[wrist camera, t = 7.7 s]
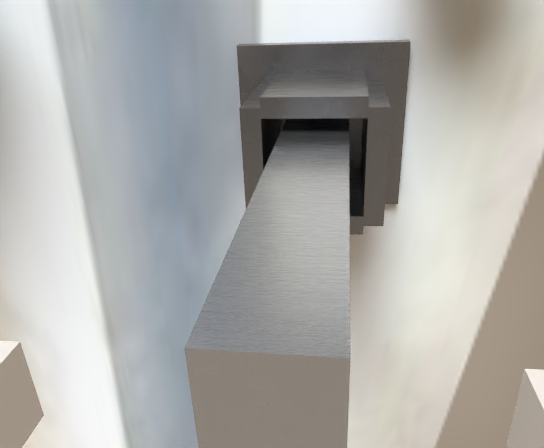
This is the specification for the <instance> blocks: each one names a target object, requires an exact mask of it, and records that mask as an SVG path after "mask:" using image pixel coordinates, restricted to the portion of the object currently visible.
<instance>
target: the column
mask: <svg viewBox="0 0 544 448" xmlns="http://www.w3.org/2000/svg"><path fill="white" fill-rule="evenodd" d="M185 354H186V361H187V368H188V375H189V382H190V389H191V396H192V403H193V410H194V417H195V424H196V431H197V438H198V445H199V448H347V431H348V404H349V377H350V212H349V118H309V119H286V121H285V123H284V125H283V128H282V130H281V132H280V134H279V137H278V139H277V141H276V143H275V146H274V148H273V150H272V152H271V155H270V157H269V159H268V161H267V164H266V166H265V168H264V170H263V173H262V175H261V177H260V179H259V182H258V184H257V186H256V188H255V191H254V193H253V195H252V197H251V200H250V202H249V204H248V206H247V209H246V211H245V213H244V215H243V218H242V220H241V222H240V224H239V227H238V229H237V231H236V233H235V236H234V238H233V240H232V242H231V245H230V247H229V249H228V251H227V254H226V256H225V258H224V260H223V263H222V265H221V267H220V270H219V272H218V274H217V276H216V279H215V281H214V283H213V285H212V288H211V290H210V292H209V294H208V297H207V299H206V301H205V303H204V306H203V308H202V310H201V312H200V315H199V317H198V319H197V321H196V324H195V326H194V328H193V330H192V333H191V335H190V337H189V339H188V342H187V344H186V346H185Z"/></svg>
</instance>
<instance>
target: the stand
mask: <svg viewBox="0 0 544 448" xmlns="http://www.w3.org/2000/svg"><path fill="white" fill-rule="evenodd" d="M409 52H410V41H409V40H384V41H345V42H306V43H266V44H239V45H237V56H238V72H239V87H240V102H241V107H240V108H239V109H240V124H241V139H242V154H243V169H244V184H245V200H246V209H247V206H248V204H249V202H250V200H251V197H252V195H253V193H254V191H255V188H256V186H257V184H258V182H259V179H260V177H261V175H262V173H263V170H264V168H265V166H266V164H267V161H268V159H269V157H270V155H271V152H272V150H273V148H274V146H275V143H276V141H277V139H278V137H279V134H280V132H281V130H282V128H283V125H284V123H285V121H286V119H309V118H349V212H350V234H363V226H383V222H384V206H385V204H398V195H399V182H400V169H401V156H402V143H403V130H404V117H405V104H406V91H407V78H408V65H409Z"/></svg>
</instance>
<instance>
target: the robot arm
mask: <svg viewBox="0 0 544 448" xmlns="http://www.w3.org/2000/svg"><path fill="white" fill-rule="evenodd" d="M43 416H44V414H43V411H42V408H41V405H40V402H39V399H38V396H37V393H36V390H35V387H34V384H33V381H32V378H31V374H30V371H29V368H28V365H27V362H26V359H25V356H24V353H23V350H22V347H21V344H20V342H16V341H0V448H22V446H23V445H24V444H25V442H26V441H27V439H28V438H29V436H30V435H31V433H32V432H33V430H34V429H35V427H36V426H37V424H38V423H39V421H40V420H41V418H42V417H43ZM506 448H544V370H537V369H525V370H524V375H523V378H522V383H521V387H520V391H519V395H518V400H517V404H516V408H515V412H514V417H513V421H512V426H511V429H510V434H509V438H508V442H507V446H506Z"/></svg>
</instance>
